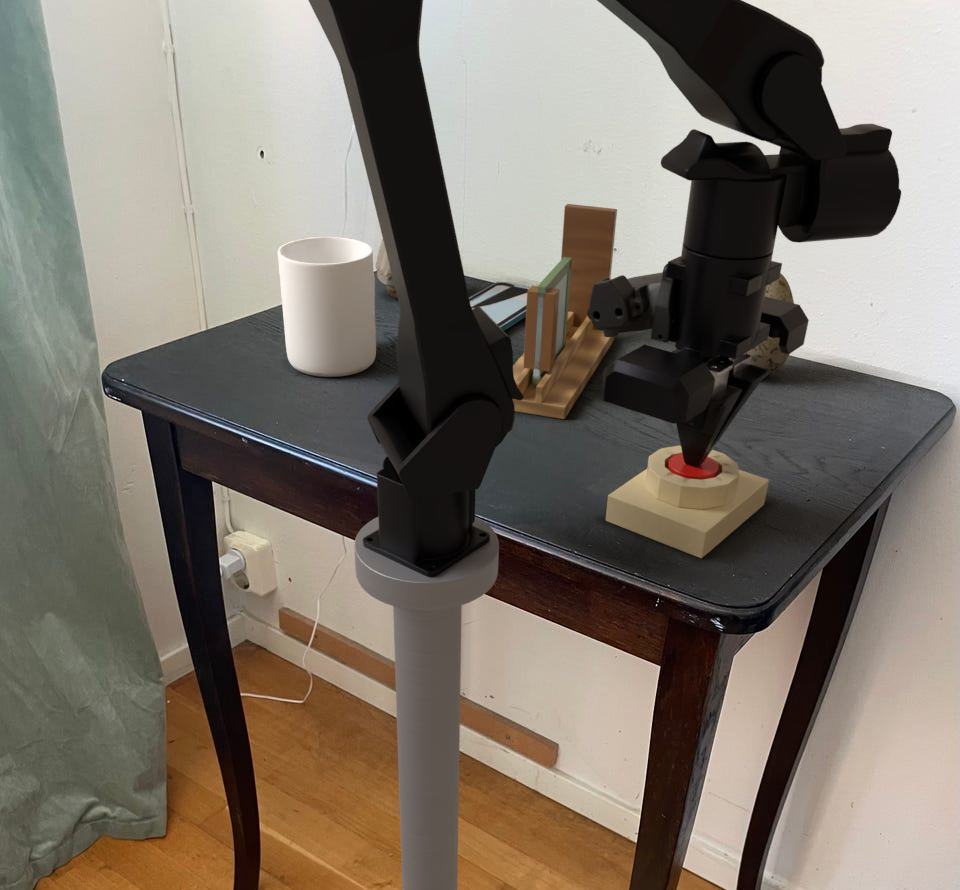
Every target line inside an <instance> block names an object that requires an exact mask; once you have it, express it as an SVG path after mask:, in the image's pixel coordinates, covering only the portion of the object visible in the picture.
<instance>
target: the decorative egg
mask: <svg viewBox="0 0 960 890" xmlns="http://www.w3.org/2000/svg"><path fill="white" fill-rule="evenodd" d="M765 297H769V298H773V299H778V300H782V301H786V302H790V303H794V304H795V302H794V297H793V292H792V289H791V286H790V284H789V281H788V280H787V279H786V277H785V276H784V275H783V274H782V273H781V272H780V277H779V279H778V280H776V281H774V282H772V283H770V284H769V285H767V288H766V293H765ZM779 340H780V338H772V337H768V339H767V340H766V341H764V342H762V343H761V344H759V345H757V346H756V347H754V348H753V349H751V350H749V351H748V352H746V354H748V355H751V358H750V364H751V365H754V366H758V367H761V368H764V369H766V370H767V375H766V377H767V376H770V375H771V374H773V373H775V372H777V371H778V370H779V369H780V368H782V366H783V365H784V364H785V362H786V361H787V360H788V358H789V356H790V354H785V353H782V352H781V351H780V348H779Z"/></svg>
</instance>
